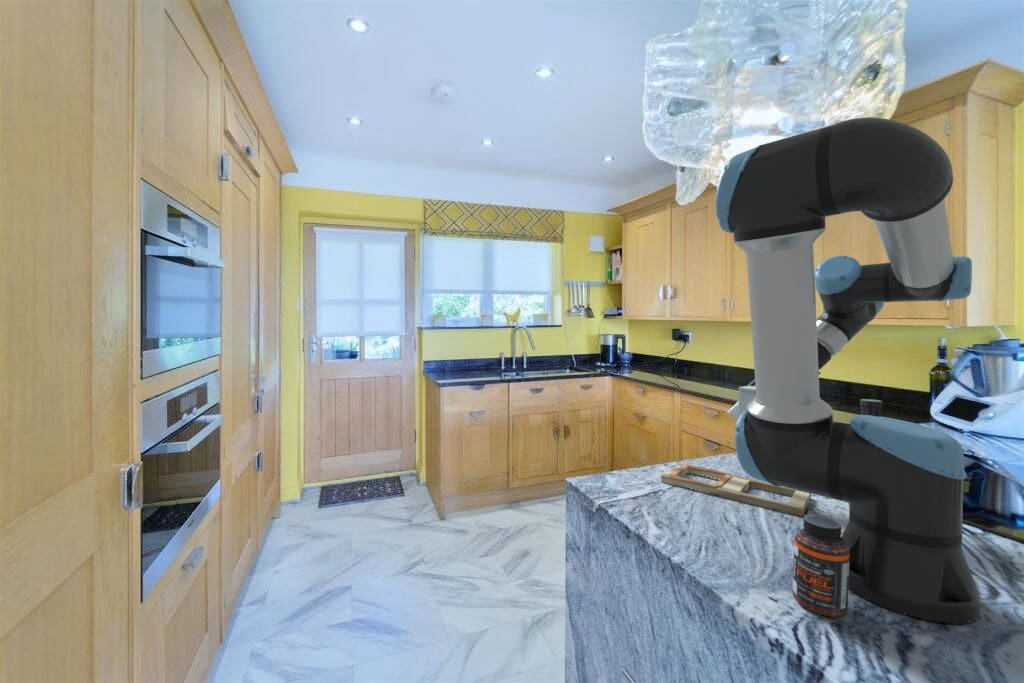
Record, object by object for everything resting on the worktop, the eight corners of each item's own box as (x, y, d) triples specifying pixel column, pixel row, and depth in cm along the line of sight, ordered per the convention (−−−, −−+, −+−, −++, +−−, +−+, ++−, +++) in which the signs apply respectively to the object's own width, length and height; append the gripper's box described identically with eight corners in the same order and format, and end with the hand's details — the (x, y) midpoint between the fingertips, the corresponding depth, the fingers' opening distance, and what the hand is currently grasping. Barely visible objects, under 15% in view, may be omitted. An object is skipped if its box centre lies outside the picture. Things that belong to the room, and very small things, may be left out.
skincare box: (737, 439, 95) (737, 386, 95) (749, 437, 97) (748, 385, 97) (764, 446, 90) (764, 390, 90) (776, 443, 92) (776, 388, 92)
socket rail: (801, 516, 82) (801, 507, 82) (661, 481, 101) (661, 474, 101) (810, 498, 91) (810, 490, 91) (680, 469, 110) (680, 462, 110)
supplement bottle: (788, 605, 56) (790, 520, 56) (796, 585, 60) (798, 506, 60) (845, 626, 52) (847, 535, 52) (850, 603, 56) (852, 519, 56)
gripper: (864, 361, 83) (778, 444, 84) (799, 355, 103) (731, 422, 104) (836, 335, 83) (751, 417, 84) (777, 333, 103) (709, 400, 104)
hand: (740, 420), depth 94 cm, fingers closed on skincare box, 7 cm apart
